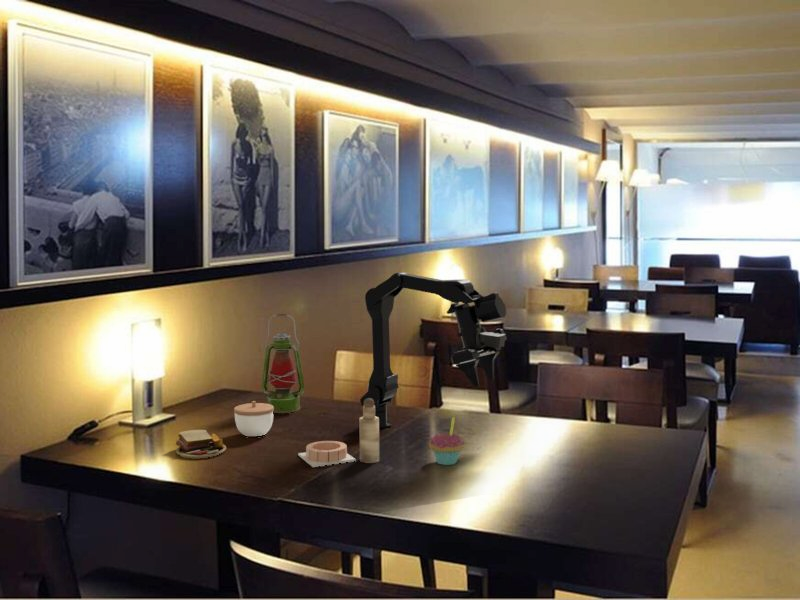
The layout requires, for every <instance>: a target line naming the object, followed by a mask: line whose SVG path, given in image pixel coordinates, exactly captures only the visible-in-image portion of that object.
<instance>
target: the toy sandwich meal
mask: <svg viewBox="0 0 800 600" xmlns="http://www.w3.org/2000/svg"><path fill="white" fill-rule="evenodd" d="M178 438H179V439H178V440H177V439H176V442H175V445H176V446H178V447H177V448H176V449H175V453H176V454H177V455H178V456H179V455H180V456H179V457H181V458H184V459H190V458H191V459H192V460H194V459H195V460H196V459H197V460H201V458H202V459H208V457H210V458H214V457H218V456H220V455H221V453H222V454H223V453H224V452H225V451H226V449H227V446H226V445H225V444H224V443H223V439H222V438H219V436H217V435H216V433H212V434H211V435H210V434H209V433H208V432H207V430H206V429H189V430H185V431H183V430H182V431H180V432H179V433H178ZM219 454H220V455H219ZM217 455H218V456H217ZM213 456H214V457H213ZM191 459H190V460H191Z"/></svg>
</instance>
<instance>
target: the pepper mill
mask: <svg viewBox="0 0 800 600" xmlns="http://www.w3.org/2000/svg"><path fill="white" fill-rule="evenodd" d="M358 421H359V423H358V424H359V427H358V428H359V461H360V462H361V463H363V462H364V463H365V464H374V463H379V461H380V428H379V417H376V416H375V406H374V400H373V399H371V398H367V399H365V401H364V406H363V407H362V416H360V417H359V420H358ZM364 463H363V464H364Z"/></svg>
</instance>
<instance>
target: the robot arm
mask: <svg viewBox="0 0 800 600" xmlns="http://www.w3.org/2000/svg"><path fill="white" fill-rule="evenodd" d="M404 289H408V290H413V291H419V292H423V293H429V294H434V295H437V296H439V297H441V298H442V299H444V300H445V301H446V300H447V301H449V302H452V303H451V304H450V307H449V308H448V309H447V311H446V314H447V315H450V314H454V315H455V317H456V318H455V319H456V322H457V325H458V326H457V327H458V329H459V332H458V333H457V334H456V335H457V337H458V338H461V342H462V345H463V347H461V349H460V350H458V351H455V352H453V353H452V355H451V356H450V359H451V363H452V365H455V367H457V368H458V369H459V370H460V371H461V372H462V373H463V375H465V377H466V378H467V379H468V380H469V381H470V382H471V384H472V385H473V386H474V387H475V388H478V387H480V380H479V373H478V364H479V365H480V367H481V369H482V370H483V372H484V374H485V375H486V377H487V379H488V381H490V382H492V381H494V380H495V379H494V378H495V361H496V358H497V356H498V355H499V354H500V350H502V347H503V348H504V347H505V341H506V340H507V339H508V338H507V337H508V336H506V335H507V334H506V332H505V331H504V328H496V329H495V330H494V331H491V332H488V331H487V330H486V329H487V328H486V327H484V326H481V322H482V323H487V322H491V321H495V320H500V319H503V318H505V317H506V316H507V308H506V303H504V301H503V299H502V298H501V297H500V296H499V292H493V293H490V294H488V295H482V294H481V293H480V292H479V291H478V290H476V289H475V288H474V285H473V284H472V281H470V280H468V279H439V278H438V279H437V278H433V277H427V276H423V275H415V274H411V273H407V272H405V271H403V272H402V271H401V272H395V273H393V274H392V275H391V276H390V277H388V278H387V279H386V280H384V281H382V282H381V283H380V284H378V285H376V286H375V287H372V288H370V289H368V290H367V292H366V293H365V295H364V301H365V307H366V311H367V313H368V315H369V317H370V319H371V333H372V335H371V337H372V339H371V340H372V343H371V344H372V367H373V368H372V372H371V375H370V377H369V379H368V386H367V387H368V388H367V392H366V393H365V394H363V396H361V398H360V399H359V401H360V404H361V407H362V408H363V406H364V401H365V399H367V398H371V399H373V400H374V406H375V416H376V417H379V429H383V428H391V427H392V424H391V423H388V422H387V421H388V417H387V415H388V414H387V411H388V409H387V406H388V404H390V403H391V402H392V400H393V398H394V396H395V395H396V394H397V391H398V389H400V387H399V383H398V381H399V375H398V374H394V373H393V371H392V369H391V353H390V352H391V350H390V349H391V348H390V347H391V346H390V345H391V344H390V342H391V341H390V316H391V314H392V312H393V309H394V304H395V298H396V297H397V296H399V295H400V294H401V292H402V291H403V290H404ZM456 303H457V304H456ZM458 303H462V304H458ZM473 303H474V304H473ZM470 304H473V305H470ZM480 321H481V322H480Z"/></svg>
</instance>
